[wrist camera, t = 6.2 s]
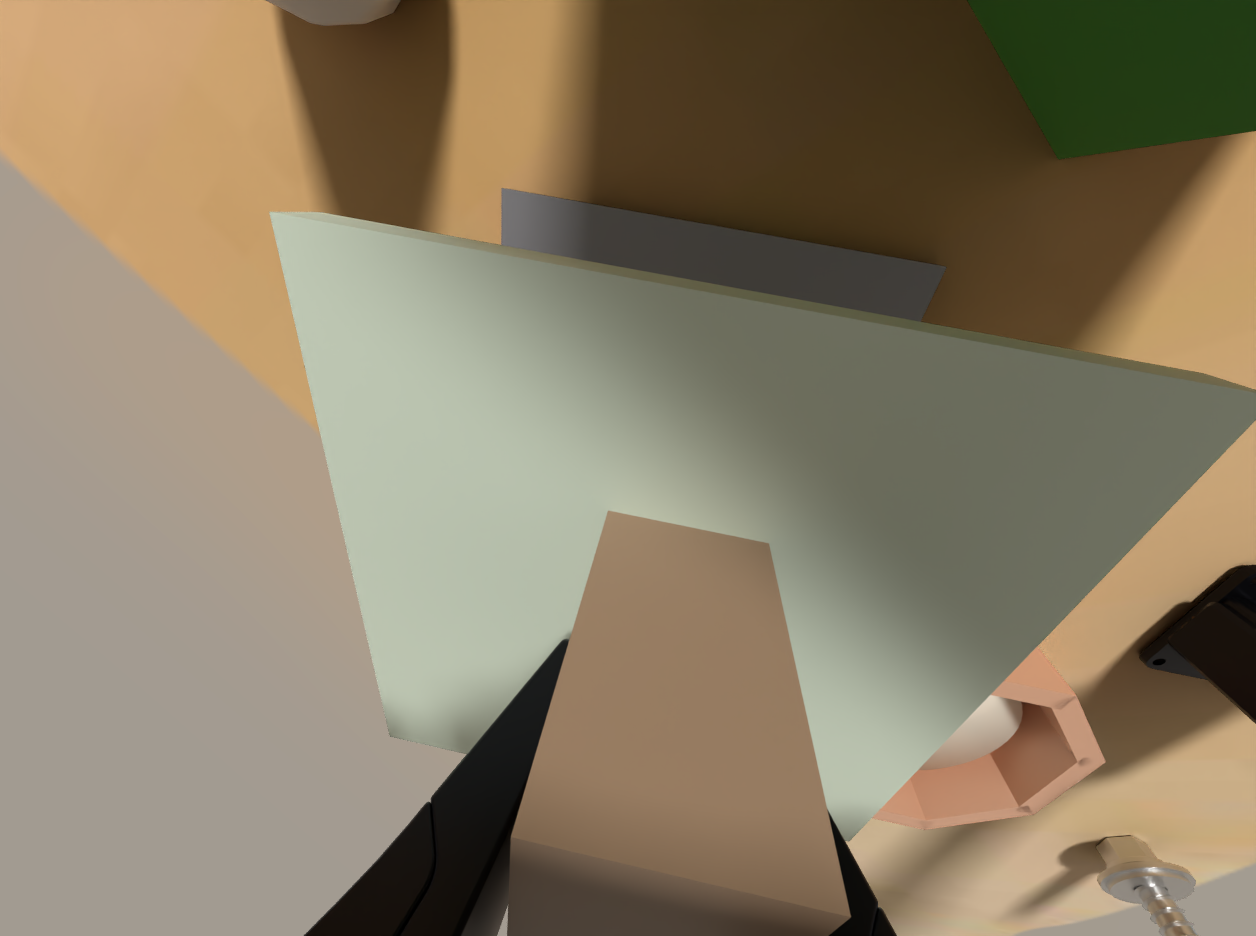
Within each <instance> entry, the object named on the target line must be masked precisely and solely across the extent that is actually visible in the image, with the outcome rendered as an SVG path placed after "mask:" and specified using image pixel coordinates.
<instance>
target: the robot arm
mask: <svg viewBox="0 0 1256 936" xmlns="http://www.w3.org/2000/svg"><path fill="white" fill-rule="evenodd" d="M569 640H570V639H563V640H562V641H561V642H560V643H559V644H558V645H557V646H556V648H555V649H554V650H553V651H552V652H551V654H550V655H549V656H548V657H547V658H546V660H545V661H544V662H543V663H542V664H541V666H540V667H539V668H538V669H537V670H536V672H535V673H534V674H533V675H532V677H531V678H530V679H529V680H528V681H527V683H526V684H525V685H524V686H523V687H522V689H521V690H520V691H519V692H518V693H517V695H516V696H515V697H514V698H513V699H512V701H511V702H510V703H509V704H508V705H507V707H506V708H505V709H504V710H503V711H502V713H501V714H500V715H499V716H498V717H497V719H496V720H495V721H494V722H493V723H492V725H491V726H490V727H489V728H488V729H487V731H486V732H485V733H484V734H483V735H482V737H481V738H480V739H479V740H478V741H477V743H476V744H475V745H474V746H473V747H472V749H471V750H470V751H469V752H468V753H467V755H466V756H465V757H464V758H463V759H462V761H461V762H460V763H459V764H458V765H457V767H456V768H455V769H454V770H453V771H452V773H451V774H450V775H449V776H448V777H447V779H446V780H445V781H444V782H443V784H442V785H441V786H440V787H439V788H438V790H437V791H436V792H435V793H434V795H433V796H432V797H431V803H430V802H427V803H426V804H425V805H424V806H423V807H422V808H421V810H420V811H419V812H418V813H417V815H416V816H415V817H414V818H413V819H412V820H411V822H410V823H409V824H408V825H407V826H406V828H405V829H404V830H403V831H402V832H401V833H400V835H399V836H398V837H397V838H396V839H395V840H394V841H393V843H392V844H391V845H390V846H389V847H388V848H387V849H386V850H385V852H384V853H383V854H382V855H381V856H380V857H379V858H378V860H377V861H376V862H375V863H374V864H373V865H372V866H371V867H370V868H369V869H368V870H367V871H366V872H365V873H364V874H363V876H361V877H360V879H359V880H358V881H357V882H356V883H355V884H354V885H353V886H352V887H351V888H350V889H349V890H348V891H347V892H346V893H345V894H344V895H343V896H342V897H341V898H340V900H339V901H338V902H337V903H336V904H335V905H334V906H333V907H332V908H331V909H330V910H329V911H328V912H327V913H326V914H325V915H324V916H323V917H322V918H321V919H320V920H319V921H318V922H317V923H316V924H315V925H314V926H313V927H312V928H311V929H310V930H309V931H308V932H307V933H306V934H305V935H304V936H497V934H498V931H499V929H500V925H501V923H502V920H503V917H504V914H505V911H506V909H507V906H508V901H509V873H510V845H511V835H512V831H513V828H514V825H515V821H516V818H517V815H518V811H519V808H520V804H521V801H522V798H523V794H524V791H525V788H526V784H527V781H528V778H529V774H530V771H531V768H532V764H533V761H534V757H535V754H536V751H537V747H538V744H539V741H540V737H541V734H542V731H543V727H544V724H545V721H546V717H547V714H548V710H549V707H550V704H551V700H552V697H553V694H554V690H555V687H556V684H557V680H558V677H559V673H560V670H561V667H562V663H563V660H564V657H565V653H566V650H567V647H568V643H569ZM1139 658H1140V659H1141V661H1142V662H1143V663H1144V664H1145V665H1146V666H1147V667H1149V668H1152V669H1157V670H1162V671H1167V672H1171V673H1176V674H1181V675H1186V676H1191V677H1196V678H1201V679H1206V680H1208V681H1209V682H1210V683H1211V684H1213V685H1214V686H1215V687H1216V688H1217V689H1218V690H1219V691H1220V692H1221V693H1222V694H1224V695H1225V696H1226V697H1227V698H1228V699H1229V700H1230V701H1231V702H1232V703H1233V704H1235V705H1236V706H1237V707H1238V708H1239V709H1240V710H1241V711H1242V712H1243V713H1244V714H1245V715H1247V716H1248V717H1249V718H1250V719H1251V720H1252V721H1253V722H1254V723H1255V724H1256V565H1249V566H1245V567H1243V568H1241V569H1239V570H1238V571H1236V572H1235V573H1234V574H1233V575H1232V576H1230V577H1229V578H1228V579H1227V580H1226V581H1225V582H1223V583H1222V584H1221V585H1220V586H1219V587H1218V588H1216V589H1215V590H1214V591H1213V592H1212V593H1211V594H1209V595H1208V596H1207V597H1206V598H1205V599H1204V600H1202V601H1201V602H1200V603H1199V604H1198V605H1197V606H1195V607H1194V608H1193V609H1192V610H1191V611H1190V612H1188V613H1187V614H1186V615H1185V616H1184V617H1183V618H1181V619H1180V620H1179V621H1178V622H1177V623H1176V624H1174V625H1173V626H1172V627H1171V628H1170V629H1169V630H1167V631H1166V632H1165V633H1164V634H1163V635H1162V636H1160V637H1159V638H1158V639H1157V640H1156V641H1155V642H1153V643H1152V644H1151V645H1150V646H1149V647H1148V648H1146V649H1145V650H1144V651H1143V652H1142V653H1141V654H1140V655H1139ZM827 810H828V809H827ZM828 815H829V819H830V824H831V828H832V833H833V837H834V842H835V847H836V851H837V856H838V860H839V865H840V869H841V874H842V878H843V883H844V888H845V892H846V897H847V901H848V906H849V910H850V915H851V918H849V919H848V920H847V921H846V922H845V923H843V924H842V925H841V926H840V927H838V928H837V929H836V930H835V931H834V932H832V933H831V934H830V935H829V936H897V935H896V933H895V932H894V930H893V928H892V926H891V924H890V922H889V921H888V919H887V917H886V915H885V913H884V911H883V910H882V908H880V907H878V901H877V899H876V897H875V895H874V893H873V891H872V890H871V888H870V886H869V884H868V882H867V880H866V879H865V877H864V875H863V873H862V871H861V869H860V868H859V866H858V864H857V862H856V860H855V858H854V857H853V855H852V853H851V851H850V849H849V847H848V846H847V844H846V842H845V840H844V838H843V836H842V835H841V833H840V831H839V829H838V827H837V825H836V824H835V822H834V820H833V818H832V816H831V814H830V813H829V811H828Z"/></svg>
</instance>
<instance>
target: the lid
mask: <svg viewBox="0 0 1256 936" xmlns="http://www.w3.org/2000/svg"><path fill="white" fill-rule="evenodd" d="M269 213H270V217H271V221H272V226H273V230H274V234H275V239H276V243H277V247H278V252H279V256H280V260H281V265H282V269H283V274H284V278H285V282H286V287H287V291H288V295H289V300H290V304H291V308H292V313H293V317H294V321H295V326H296V330H297V334H298V339H299V343H300V348H301V352H302V356H303V361H304V365H305V369H306V374H307V378H308V382H309V387H310V391H311V395H312V400H313V404H314V409H315V413H316V417H317V422H318V426H319V430H320V435H321V439H322V443H323V448H324V451H325V456H326V461H327V465H328V469H329V474H330V478H331V482H332V487H333V491H334V495H335V500H336V504H337V509H338V513H339V517H340V522H341V526H342V530H343V535H344V539H345V543H346V548H347V552H348V556H349V561H350V565H351V570H352V574H353V578H354V582H355V587H356V591H357V596H358V600H359V604H360V609H361V613H362V617H363V622H364V626H365V631H366V635H367V639H368V644H369V648H370V652H371V657H372V661H373V665H374V670H375V674H376V678H377V683H378V687H379V692H380V696H381V700H382V704H383V709H384V713H385V718H386V722H387V726H388V731H389V735H390V737H394V738H399V739H403V740H407V741H412V742H416V743H421V744H425V745H429V746H434V747H439V748H442V749H447V750H451V751H456V752H460V753H464V754H467V753H468V752H469V751H470V750H471V749H472V747H473V746H474V745H475V744H476V743H477V741H478V740H479V739H480V738H481V737H482V735H483V734H484V733H485V732H486V731H487V729H488V728H489V727H490V726H491V725H492V723H493V722H494V721H495V720H496V719H497V717H498V716H499V715H500V714H501V713H502V711H503V710H504V709H505V708H506V707H507V705H508V704H509V703H510V702H511V701H512V699H513V698H514V697H515V696H516V695H517V693H518V692H519V691H520V690H521V689H522V687H523V686H524V685H525V684H526V683H527V681H528V680H529V679H530V678H531V677H532V675H533V674H534V673H535V672H536V670H537V669H538V668H539V667H540V666H541V664H542V663H543V662H544V661H545V660H546V658H547V657H548V656H549V655H550V654H551V652H552V651H553V650H554V649H555V648H556V646H557V645H558V644H559V643H560V642H561V641H562V640H563V639H570V640H569V643H568V647H567V650H566V653H565V657H564V660H563V663H562V667H561V670H560V673H559V677H558V680H557V684H556V687H555V690H554V694H553V697H552V700H551V704H550V707H549V710H548V714H547V717H546V721H545V724H544V727H543V731H542V734H541V737H540V741H539V744H538V747H537V751H536V754H535V757H534V761H533V764H532V768H531V771H530V774H529V778H528V781H527V784H526V788H525V791H524V794H523V798H522V801H521V804H520V808H519V811H518V815H517V818H516V821H515V825H514V828H513V831H512V835H511V845H510V873H509V901H508V930H507V936H829V935H830V934H831V933H832V932H834V931H835V930H836V929H837V928H838V927H840V926H841V925H842V924H843V923H845V922H846V921H847V920H848V919H849V918H851V915H850V910H849V906H848V901H847V897H846V892H845V888H844V883H843V878H842V874H841V869H840V865H839V860H838V856H837V851H836V847H835V842H834V837H833V833H832V828H831V824H830V819H829V815H828V811H829V813H830V814H831V816H832V818H833V820H834V822H835V824H836V825H837V827H838V829H839V831H840V833H841V835H842V836H843V838H844V840H845V841H848V842H849V841H850V840H851V839H852V838H853V837H854V836H855V835H856V834H857V833H858V832H859V831H860V830H861V829H862V828H863V827H864V825H865V824H866V823H867V822H868V821H869V820H870V819H871V818H872V817H873V816H874V815H875V814H876V813H877V812H878V811H879V810H880V809H881V808H882V807H883V806H884V805H885V804H886V803H887V802H888V801H889V800H890V799H891V797H892V796H893V795H894V794H895V793H896V792H897V791H898V790H899V789H900V788H901V787H902V786H903V785H904V784H905V783H906V782H907V781H908V780H909V779H910V778H911V777H912V776H913V775H914V774H915V773H916V772H917V771H918V770H919V768H920V767H921V766H922V765H923V764H924V763H925V762H926V761H927V760H928V759H929V758H930V757H931V756H932V755H933V754H934V753H935V752H936V751H937V750H938V749H939V748H940V747H941V746H942V745H943V744H944V743H945V742H946V740H947V739H948V738H949V737H950V736H951V735H952V734H953V733H954V732H955V731H956V730H957V729H958V728H959V727H960V726H961V725H962V724H963V723H964V722H965V721H966V720H967V719H968V718H969V717H970V716H971V715H972V714H973V712H974V711H975V710H976V709H977V708H978V707H979V706H980V705H981V704H982V703H983V702H984V701H985V700H986V699H987V698H988V697H989V696H990V695H991V694H992V693H993V692H994V691H995V690H996V689H997V688H998V687H999V686H1000V685H1001V683H1002V682H1003V681H1004V680H1005V679H1006V678H1007V677H1008V676H1009V675H1010V674H1011V673H1012V672H1013V671H1014V670H1015V669H1016V668H1017V667H1018V666H1019V665H1020V664H1021V663H1022V662H1023V661H1024V660H1025V659H1026V658H1027V657H1028V655H1029V654H1030V653H1031V652H1032V651H1033V650H1034V649H1035V648H1036V647H1037V646H1038V645H1039V644H1040V643H1041V642H1042V641H1043V640H1044V639H1045V638H1046V637H1047V636H1048V635H1049V634H1050V633H1051V632H1052V631H1053V630H1054V629H1055V627H1056V626H1057V625H1058V624H1059V623H1060V622H1061V621H1062V620H1063V619H1064V618H1065V617H1066V616H1067V615H1068V614H1069V613H1070V612H1071V611H1072V610H1073V609H1074V608H1075V607H1076V606H1077V605H1078V604H1079V603H1080V602H1081V601H1082V600H1083V598H1084V597H1085V596H1086V595H1087V594H1088V593H1089V592H1090V591H1091V590H1092V589H1093V588H1094V587H1095V586H1096V585H1097V584H1098V583H1099V582H1100V581H1101V580H1102V579H1103V578H1104V577H1105V576H1106V575H1107V574H1108V573H1109V572H1110V570H1111V569H1112V568H1113V567H1114V566H1115V565H1116V564H1117V563H1118V562H1119V561H1120V560H1121V559H1122V558H1123V557H1124V556H1125V555H1126V554H1127V553H1128V552H1129V551H1130V550H1131V549H1132V548H1133V547H1134V546H1135V545H1136V544H1137V542H1138V541H1139V540H1140V539H1141V538H1142V537H1143V536H1144V535H1145V534H1146V533H1147V532H1148V531H1149V530H1150V529H1151V528H1152V527H1153V526H1154V525H1155V524H1156V523H1157V522H1158V521H1159V520H1160V519H1161V518H1162V517H1163V516H1164V514H1165V513H1166V512H1167V511H1168V510H1169V509H1170V508H1171V507H1172V506H1173V505H1174V504H1175V503H1176V502H1177V501H1178V500H1179V499H1180V498H1181V497H1182V496H1183V495H1184V494H1185V493H1186V492H1187V491H1188V490H1189V489H1190V488H1191V487H1192V485H1193V484H1194V483H1195V482H1196V481H1197V480H1198V479H1199V478H1200V477H1201V476H1202V475H1203V474H1204V473H1205V472H1206V471H1207V470H1208V469H1209V468H1210V467H1211V466H1212V465H1213V464H1214V463H1215V462H1216V461H1217V460H1218V459H1219V457H1220V456H1221V455H1222V454H1223V453H1224V452H1225V451H1226V450H1227V449H1228V448H1229V447H1230V446H1231V445H1232V444H1233V443H1234V442H1235V441H1236V440H1237V439H1238V438H1239V437H1240V436H1241V435H1242V434H1243V433H1244V432H1245V431H1246V429H1247V428H1248V427H1249V426H1250V425H1251V424H1252V423H1253V422H1254V421H1255V420H1256V390H1254V389H1251V388H1248V387H1245V386H1242V385H1239V384H1235V383H1232V382H1229V381H1226V380H1223V379H1220V378H1216V377H1213V376H1210V375H1207V374H1204V373H1199V372H1193V371H1188V370H1182V369H1177V368H1171V367H1166V366H1160V365H1155V364H1149V363H1144V362H1138V361H1133V360H1127V359H1122V358H1116V357H1111V356H1105V355H1100V354H1094V353H1089V352H1084V351H1078V350H1073V349H1067V348H1062V347H1056V346H1051V345H1045V344H1040V343H1034V342H1029V341H1023V340H1018V339H1012V338H1007V337H1001V336H996V335H990V334H985V333H980V332H974V331H969V330H963V329H958V328H952V327H947V326H941V325H936V324H930V323H925V322H919V321H914V320H908V319H903V318H897V317H892V316H886V315H881V314H875V313H870V312H865V311H859V310H854V309H848V308H843V307H837V306H832V305H826V304H821V303H815V302H810V301H804V300H799V299H793V298H788V297H782V296H777V295H771V294H766V293H761V292H755V291H750V290H744V289H739V288H733V287H728V286H722V285H717V284H711V283H706V282H700V281H695V280H689V279H684V278H678V277H673V276H667V275H662V274H656V273H651V272H646V271H640V270H635V269H629V268H624V267H618V266H613V265H607V264H602V263H596V262H591V261H585V260H580V259H574V258H569V257H563V256H558V255H552V254H547V253H542V252H536V251H531V250H525V249H520V248H514V247H509V246H503V245H498V244H492V243H487V242H481V241H476V240H470V239H465V238H459V237H454V236H448V235H443V234H437V233H432V232H427V231H421V230H416V229H410V228H405V227H399V226H394V225H388V224H383V223H377V222H372V221H366V220H361V219H355V218H350V217H344V216H339V215H333V214H328V213H323V212H269ZM827 809H828V810H827Z"/></svg>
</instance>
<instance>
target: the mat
mask: <svg viewBox="0 0 1256 936" xmlns="http://www.w3.org/2000/svg"><path fill="white" fill-rule="evenodd" d="M501 245H503V246H509V247H514V248H520V249H525V250H531V251H536V252H542V253H547V254H552V255H558V256H563V257H569V258H574V259H580V260H585V261H591V262H596V263H602V264H607V265H613V266H618V267H624V268H629V269H635V270H640V271H646V272H651V273H656V274H662V275H667V276H673V277H678V278H684V279H689V280H695V281H700V282H706V283H711V284H717V285H722V286H728V287H733V288H739V289H744V290H750V291H755V292H761V293H766V294H771V295H777V296H782V297H788V298H793V299H799V300H804V301H810V302H815V303H821V304H826V305H832V306H837V307H843V308H848V309H854V310H859V311H865V312H870V313H875V314H881V315H886V316H892V317H897V318H903V319H908V320H914V321H919V322H921V320H922V318H923V316H924V314H925V311H926V309H927V307H928V305H929V303H930V301H931V299H932V297H933V295H934V293H935V291H936V288H937V286H938V284H939V282H940V280H941V278H942V276H943V274H944V272H945V270H946V268H947V267H945V266H941V265H936V264H930V263H924V262H919V261H913V260H907V259H902V258H896V257H890V256H885V255H879V254H873V253H868V252H862V251H856V250H851V249H845V248H839V247H834V246H828V245H822V244H817V243H811V242H805V241H800V240H794V239H788V238H783V237H777V236H771V235H766V234H760V233H754V232H749V231H743V230H737V229H732V228H726V227H720V226H715V225H709V224H703V223H698V222H692V221H686V220H681V219H675V218H670V217H664V216H658V215H653V214H647V213H641V212H636V211H630V210H624V209H619V208H613V207H607V206H602V205H596V204H590V203H585V202H579V201H573V200H568V199H562V198H556V197H551V196H545V195H539V194H534V193H528V192H522V191H517V190H511V189H504V188H502V238H501Z"/></svg>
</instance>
